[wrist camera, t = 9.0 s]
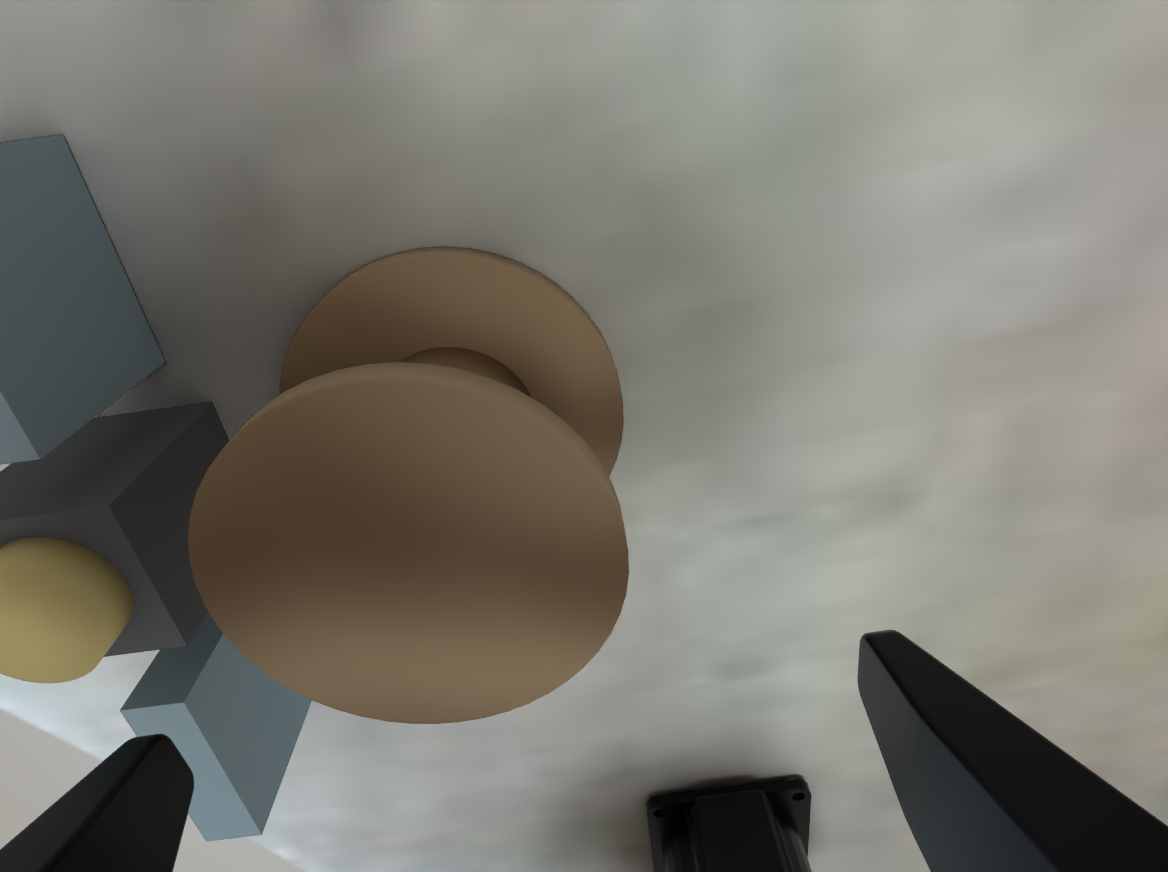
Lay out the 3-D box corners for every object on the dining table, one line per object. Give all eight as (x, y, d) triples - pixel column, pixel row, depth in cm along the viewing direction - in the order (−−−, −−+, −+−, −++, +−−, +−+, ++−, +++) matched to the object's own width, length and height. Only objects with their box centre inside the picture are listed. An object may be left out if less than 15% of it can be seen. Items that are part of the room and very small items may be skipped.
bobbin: (634, 522, 21) (670, 711, 15) (345, 559, 21) (261, 762, 15) (602, 223, 17) (633, 316, 10) (238, 273, 17) (61, 392, 11)
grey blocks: (314, 692, 24) (261, 834, 19) (269, 698, 24) (206, 841, 19) (62, 134, 15) (-136, 161, 11) (-8, 144, 15) (-233, 175, 11)
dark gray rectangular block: (213, 401, 18) (73, 541, 13) (264, 521, 20) (161, 686, 15) (68, 421, 19) (-131, 568, 13) (133, 538, 20) (-17, 709, 15)
